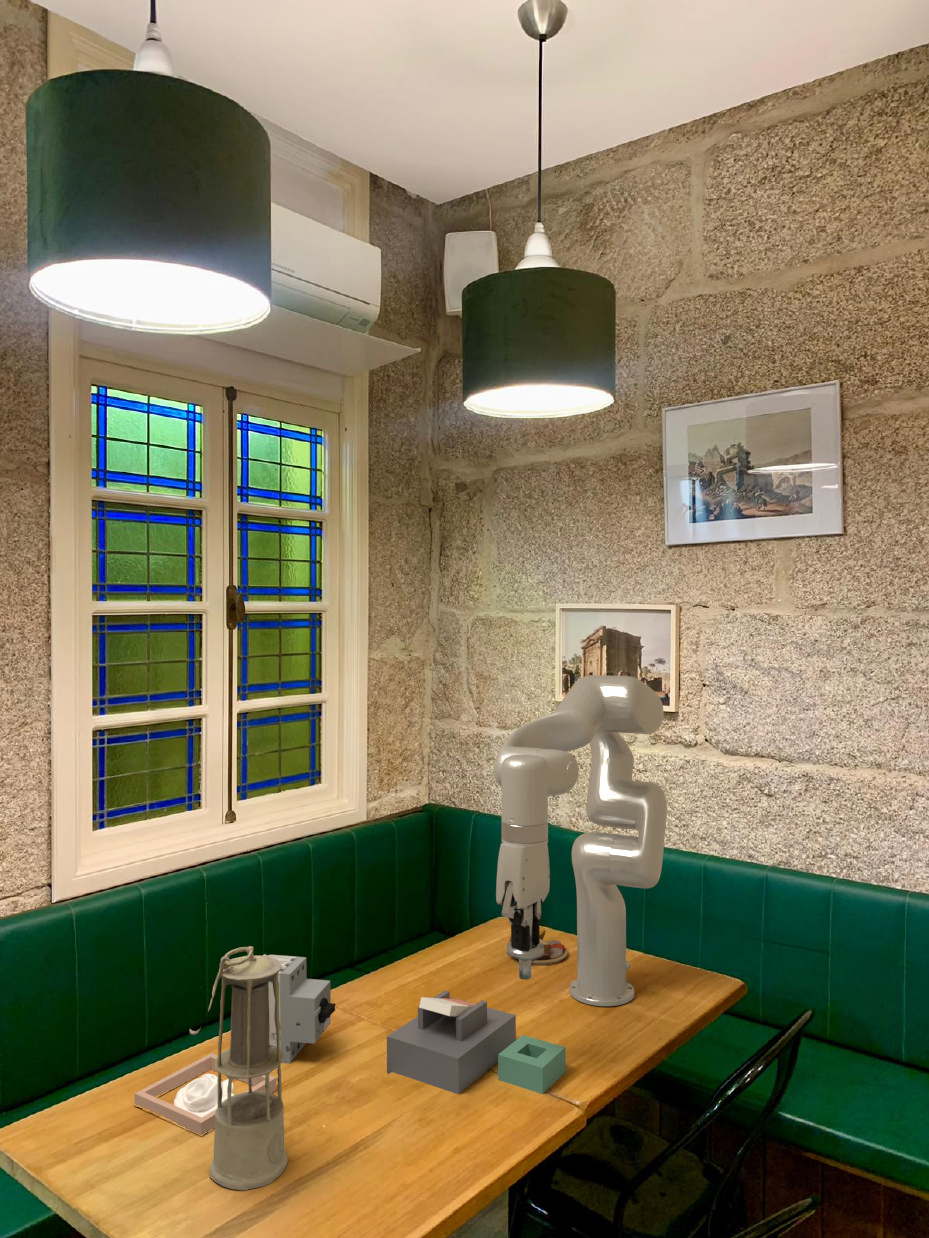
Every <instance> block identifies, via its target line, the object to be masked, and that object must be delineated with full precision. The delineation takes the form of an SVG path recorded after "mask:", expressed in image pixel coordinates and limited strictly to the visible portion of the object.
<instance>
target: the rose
mask: <svg viewBox="0 0 929 1238" xmlns="http://www.w3.org/2000/svg"><path fill="white" fill-rule="evenodd" d="M217 1079H218V1075H216V1074H214V1073H205V1074H204V1073H203V1074H202V1075H200V1076H199V1077H198V1078H194V1079H192V1081H189V1082H187V1083H188V1084H187V1083H186V1085H185V1086H183V1087H181V1088H180V1089H178V1091H177V1092H176V1094H175V1098H174V1099H173V1105H174V1106H177V1107H179V1108H181V1109H184V1110H186V1111H188V1112H191V1113H193V1114H195V1115H197V1116H200V1117H204V1116H205V1115H207V1114H209V1113H210V1112H212V1111H214V1110H215V1109H217V1107H218V1083H217ZM228 1080H229V1079H228V1078H227V1079H225V1080H223V1081H222V1080H221V1088H222V1102H223V1101H224V1100H226V1099H227V1095H228V1094H227V1088H228ZM234 1088H235V1087H234V1082H233V1081H232V1088H231V1096H234V1095H235V1094H234Z"/></svg>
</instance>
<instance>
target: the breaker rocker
mask: <svg viewBox="0 0 929 1238" xmlns="http://www.w3.org/2000/svg"><path fill="white" fill-rule="evenodd" d="M476 1004H477V1003H473V1002H468V1001H467V1000H466V1001H465V1000H462V999H459V998H458V999H457V998H454V999H448V998H442V999H440V998H434V997H425V996H424V997H423V996H422V997H420V1002H419V1006H418V1007H419V1008H423V1009H426V1010H430V1011H433V1012H437V1013H440V1014H444V1015H447V1016H460V1015H461V1014H463V1013H464V1012H466V1011H467V1010H469V1009H470V1008H471V1007H473V1006H474V1005H476Z"/></svg>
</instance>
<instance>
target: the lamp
mask: <svg viewBox="0 0 929 1238" xmlns="http://www.w3.org/2000/svg"><path fill="white" fill-rule="evenodd" d="M242 952H246V954H247V955H244V956H239V957H235V958H231V959H230V957H231V956H232V955H235V954H237V953H242ZM281 968H282V965H281V962H280V961H279V960H277V959H275V958H272V957H268V956H263V955H254V946H251V945H250V946H243V947H242V946H241V947H238V948H235V949H232V950H229V951H228V952H226V953H225V954H224V956H222V957H221V958H220V963H219V969H218V972H217V975H216V978H215V981H214V984H213V986H212V992H211V995H212V997H211V998H210V1003H209V1006H208V1008H207V1013H209V1012H210V1009H211V1008H212V1003H213V999H214V997H215V995H216V990H217V987H218V984H219V981H220V978H221V994H220V1005H219V1006H220V1010H219V1011H220V1014H219V1029H218V1031H219V1032H218V1040H217V1049H218V1050H217V1055H218V1056H217V1058H216V1060H215V1063H214V1065H215V1068H216V1070H217V1071H218V1072H217V1071H216V1072H217V1073H218V1075H217V1077H218V1079H217V1083H218V1107H217V1109H216V1112H215V1129H214V1135H213V1136H214V1138H213V1140H214V1141H213V1159H212V1161H211V1163H210V1166H209V1169H210V1177H212V1179H211V1181H213V1180H215V1181H214V1183H216V1184H218V1185H219V1186H222V1187H224V1188H227V1189H231V1190H239V1191H247V1190H251V1189H257V1188H261V1187H264V1186H266V1185H269V1184H271V1183H273V1182H274V1181H275V1180H277V1178H279V1177H280V1176H281V1175H282V1174H283V1173H284V1171H285V1169H286V1168H287V1164H288V1154H287V1152H286V1150H285V1123H284V1122H285V1121H284V1117H285V1116H284V1113H285V1111H284V1110H285V1109H284V1103H283V1098H282V1097H283V1095H282V1089H283V1086H282V1069H281V1065H282V1064H283V1063H282V1062H283V1059H284V1054H283V1052H282V1050H280V1028H281V1027H280V1022H279V982H278V975H279V971H280V970H281ZM269 981H270V982H272V983H273V990H274V997H275V1015H274V1019H275V1026H276V1033H277V1047H275V1046H272V1045H270V1043H269V1032H270V1024H269V986H268V984H269ZM229 985H231V990H232V991H231V1010H230V1011H231V1014H230V1047H229V1048H227V1049H225V1050H223V1051H222V1044H223V1031H224V1030H223V1029H224V1012H225V998H226V988H227V986H229ZM201 987H202V986H201ZM201 987H199V988H200V989H201ZM201 1028H202V1027H200V1028H199V1029H197V1030H196V1031H195V1030H192V1029H191V1028H190V1029H189V1034H190V1035H194V1036H195V1035H197V1034H199V1032H200V1031H201ZM272 1047H274V1048H272ZM275 1070H277V1072H276V1073H277V1077H276V1082H277V1084H276V1089H277V1095H276V1094H273V1093H269V1075H271V1073H272V1072H273V1071H275ZM222 1075H223V1076H225V1077H227V1079H229V1080H228V1088H227V1094H228V1095H227V1099H226V1100H224V1101H223V1102H222V1088H221V1082H222ZM263 1075H265V1076H266V1077H265V1088H266V1092H261V1091H252V1087H253V1085H252V1078H255V1077H259V1076H263ZM237 1079H248V1084H247V1085H248V1090H249V1092H246V1091H244V1092H240V1093H238V1094H234V1096H231V1088H232V1082H233V1080H237ZM210 1177H209V1178H210Z"/></svg>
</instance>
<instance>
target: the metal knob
mask: <svg viewBox="0 0 929 1238" xmlns="http://www.w3.org/2000/svg"><path fill="white" fill-rule="evenodd" d="M517 912H519V913H520V914H521V911H520V910H517ZM527 925H529V926H530V950H528V951H523V950H519V949H514V948H512V947H511V942H510V941H508V943H507V944H506V954H507V955H508V956H509V957H511V958H513V959H516V960H517V959H519V960H518V978H519V979H520V980H523V981H524V980H526V981H528V980H530V979H531V978H532V964H531V959H536V958H539V957H541V956H543V954H544V946H543V944H541V943H539V944H538V945H533V904H531V905H530V906H528V922H527Z"/></svg>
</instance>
